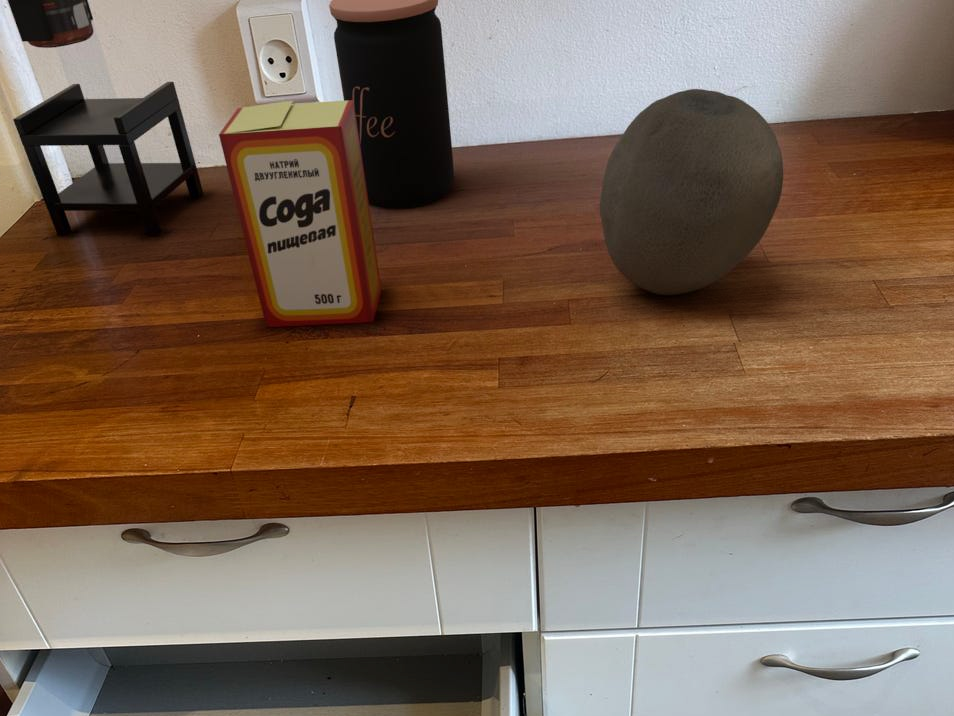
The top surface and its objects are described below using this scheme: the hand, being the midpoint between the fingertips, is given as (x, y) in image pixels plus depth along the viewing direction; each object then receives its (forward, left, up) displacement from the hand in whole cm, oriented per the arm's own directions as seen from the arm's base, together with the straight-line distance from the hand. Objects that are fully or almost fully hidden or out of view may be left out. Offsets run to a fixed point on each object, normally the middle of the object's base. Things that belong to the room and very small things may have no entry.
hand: (58, 29), depth 84 cm
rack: (-5, +9, -20) cm, 22 cm away
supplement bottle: (0, 0, -1) cm, 1 cm away
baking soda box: (+25, -12, -20) cm, 34 cm away
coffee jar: (+25, +16, -20) cm, 36 cm away
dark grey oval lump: (+56, -6, -20) cm, 60 cm away
